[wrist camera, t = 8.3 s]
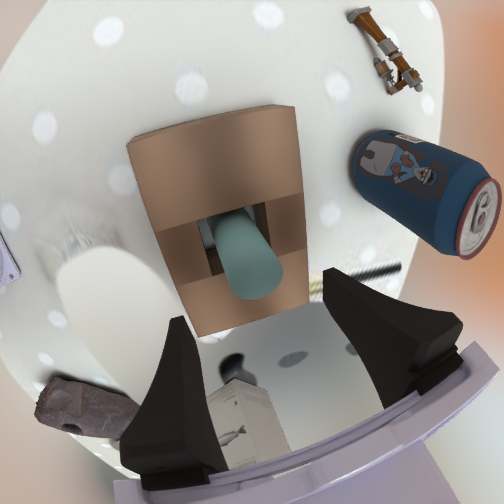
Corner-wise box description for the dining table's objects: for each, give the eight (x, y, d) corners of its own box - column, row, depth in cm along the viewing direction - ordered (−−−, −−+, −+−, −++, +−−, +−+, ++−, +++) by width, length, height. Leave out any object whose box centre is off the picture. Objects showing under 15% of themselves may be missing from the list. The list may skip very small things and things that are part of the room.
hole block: (193, 310, 25) (198, 337, 22) (133, 137, 16) (126, 145, 14) (294, 279, 27) (309, 302, 24) (274, 104, 18) (294, 106, 15)
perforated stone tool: (152, 393, 31) (157, 440, 25) (141, 410, 33) (145, 452, 27) (41, 360, 24) (31, 409, 18) (40, 381, 25) (33, 425, 19)
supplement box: (233, 376, 33) (263, 465, 22) (268, 389, 37) (299, 464, 27) (195, 401, 34) (215, 483, 24) (231, 411, 38) (254, 482, 28)
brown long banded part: (391, 106, 19) (420, 92, 15) (337, 34, 18) (355, 8, 13) (404, 99, 19) (433, 85, 15) (351, 29, 18) (370, 4, 13)
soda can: (398, 194, 25) (489, 254, 15) (344, 203, 24) (441, 280, 14) (404, 127, 21) (512, 169, 12) (346, 127, 20) (469, 172, 10)
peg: (213, 239, 22) (237, 306, 16) (202, 206, 21) (222, 265, 14) (249, 227, 23) (286, 288, 16) (240, 194, 21) (278, 246, 14)
